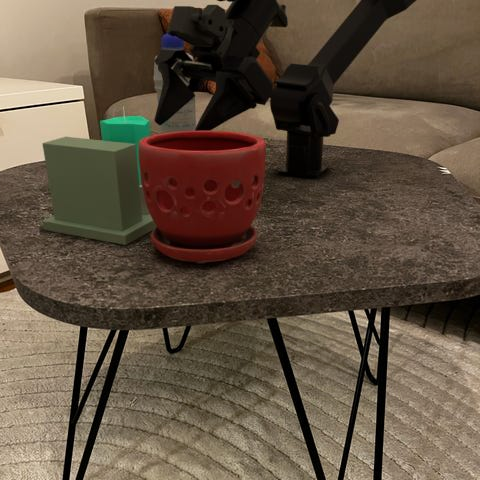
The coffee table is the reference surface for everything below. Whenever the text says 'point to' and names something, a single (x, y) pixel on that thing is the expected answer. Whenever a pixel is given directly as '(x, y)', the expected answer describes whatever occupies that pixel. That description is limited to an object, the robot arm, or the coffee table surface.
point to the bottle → (186, 114)
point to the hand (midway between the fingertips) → (176, 128)
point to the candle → (126, 131)
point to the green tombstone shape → (96, 190)
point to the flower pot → (202, 192)
